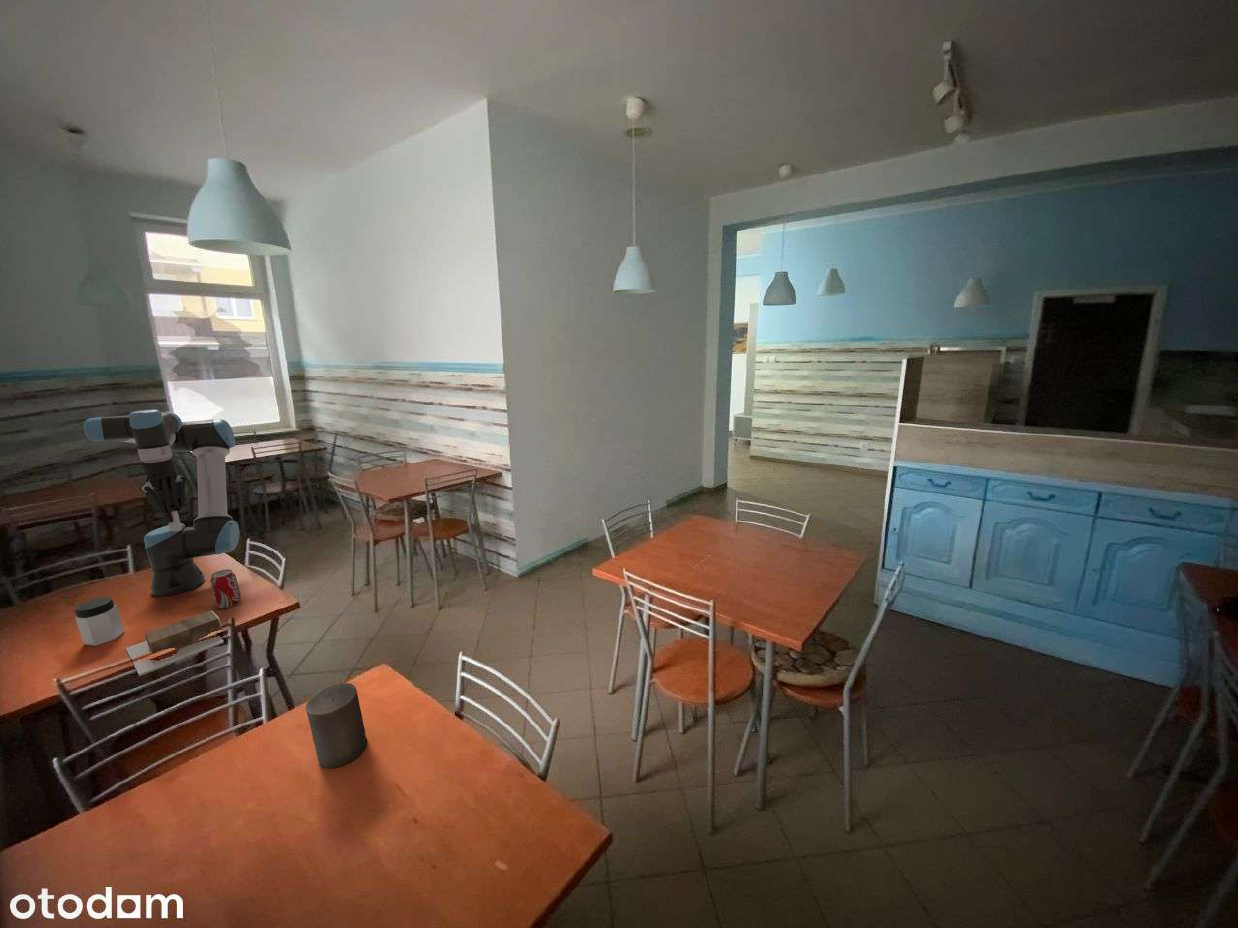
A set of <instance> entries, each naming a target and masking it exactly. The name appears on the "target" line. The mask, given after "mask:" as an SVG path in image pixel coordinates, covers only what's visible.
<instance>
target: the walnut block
mask: <svg viewBox="0 0 1238 928" xmlns="http://www.w3.org/2000/svg"><path fill="white" fill-rule="evenodd" d="M221 629H222V630H223V628H222V624H221V619H220V617H219V616H218V615H217V614H216V613H215V612H214V611H213V609H210V610H207V611H205V612H202V613H199V614H197V615H194V616H190V617H188V618H185V619H183V620H180V621H177V622H174V623H170V624H167V625H166V626H162V627H160V628H156V629H154V630H151V631H148V632H145V633H144V635H145V641H147V643H148V646H149V649H150V651H151V652H152V653H153V654H154V653H155V652H157V651H160V650H162V649H168V648H175V649H181V648H183V647H186V646H189V645H190V644H191V643H196V642H197V641H198V640H199V639H200V638H203V637H205V636H207V635H208V634H210V633H211V632H214V631H218V630H221Z"/></svg>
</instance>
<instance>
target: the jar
mask: <svg viewBox="0 0 1238 928" xmlns="http://www.w3.org/2000/svg"><path fill="white" fill-rule="evenodd" d="M74 613H75V615H76V616H75V617H74V619H75V622H76V625H77V628H78V631H79V634H80V636H81V640H82V642H83V644H84V645H87V646H95V647H96V646H99V645H102V644H104V643H109V642H112V641H114V640H116V639H117V638H118V637H120V636H121V635H122V634H123V633H124V632H125V628H124V625H123V622H122V620H121V615H120V612H119V610H118V607H117V605H116V604H114V600H113V598H112V597H110V596H102V597H96V598H93V599H90V600H86V601H84V602H82V603H80V604H78V605H77V606H75V608H74Z"/></svg>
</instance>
